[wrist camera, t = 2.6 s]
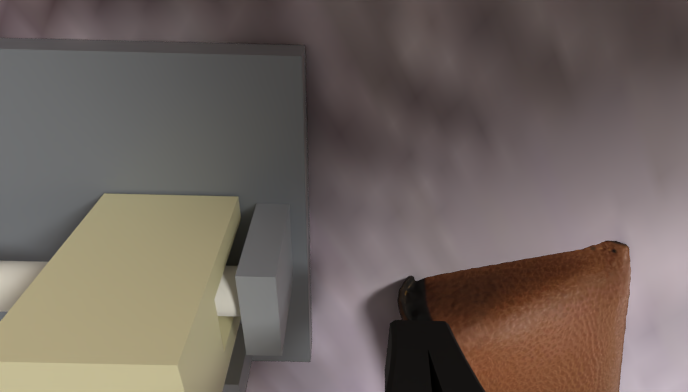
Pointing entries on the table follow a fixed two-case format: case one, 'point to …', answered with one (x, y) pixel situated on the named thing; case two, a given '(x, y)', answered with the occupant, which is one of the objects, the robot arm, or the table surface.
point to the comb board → (164, 164)
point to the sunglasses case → (534, 318)
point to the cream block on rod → (128, 302)
